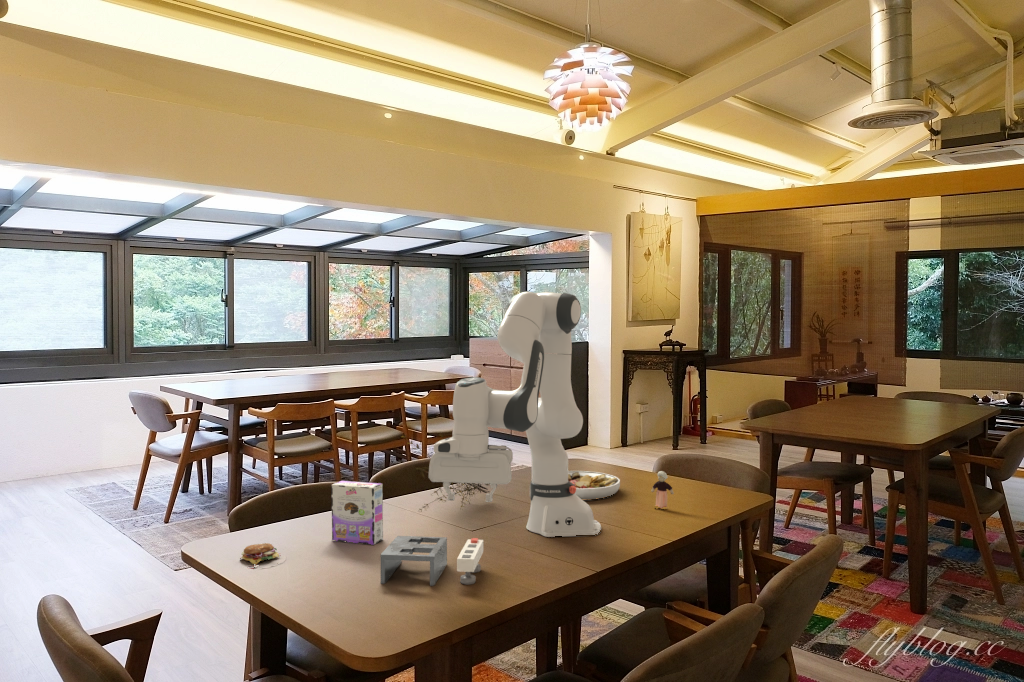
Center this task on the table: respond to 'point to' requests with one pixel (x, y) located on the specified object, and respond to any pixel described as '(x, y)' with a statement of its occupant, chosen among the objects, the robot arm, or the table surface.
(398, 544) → the grey stepped cutout plate
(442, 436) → the dried plant
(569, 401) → the robot arm
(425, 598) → the table surface
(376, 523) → the candy box
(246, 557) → the hamburger
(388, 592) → the table surface
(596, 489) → the bowl
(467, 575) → the power strip
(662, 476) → the grandmother figurine
